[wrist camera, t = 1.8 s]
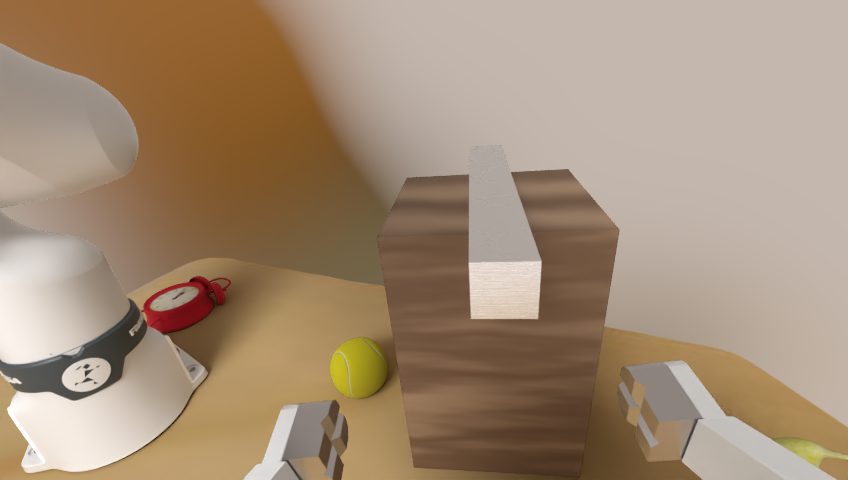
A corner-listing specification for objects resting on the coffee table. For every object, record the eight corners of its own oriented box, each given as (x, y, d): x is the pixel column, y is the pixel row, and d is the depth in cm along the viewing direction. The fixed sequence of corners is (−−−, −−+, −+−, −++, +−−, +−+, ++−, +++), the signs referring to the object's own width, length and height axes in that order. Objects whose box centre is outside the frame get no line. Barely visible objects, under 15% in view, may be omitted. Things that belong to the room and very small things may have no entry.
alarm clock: (120, 310, 62) (198, 254, 71) (145, 334, 66) (216, 277, 75) (149, 328, 57) (229, 265, 66) (173, 352, 60) (246, 289, 70)
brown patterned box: (586, 477, 35) (629, 229, 24) (414, 467, 37) (377, 237, 26) (555, 366, 47) (574, 168, 36) (428, 364, 50) (407, 177, 38)
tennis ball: (373, 359, 52) (365, 319, 48) (401, 389, 46) (394, 346, 43) (327, 385, 48) (315, 344, 45) (352, 421, 43) (341, 377, 40)
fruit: (734, 459, 35) (776, 366, 30) (843, 539, 29) (919, 440, 24) (691, 495, 33) (728, 401, 28) (800, 592, 27) (874, 494, 21)
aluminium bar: (537, 318, 17) (541, 261, 15) (471, 318, 17) (468, 262, 16) (501, 175, 36) (501, 144, 35) (470, 177, 36) (469, 146, 35)
